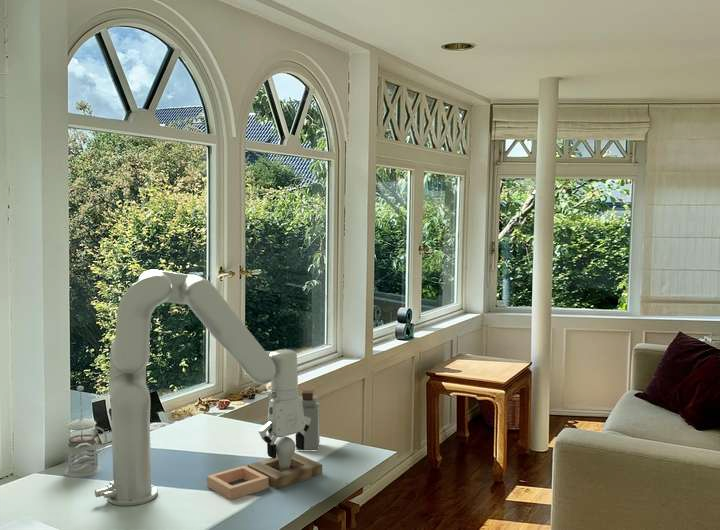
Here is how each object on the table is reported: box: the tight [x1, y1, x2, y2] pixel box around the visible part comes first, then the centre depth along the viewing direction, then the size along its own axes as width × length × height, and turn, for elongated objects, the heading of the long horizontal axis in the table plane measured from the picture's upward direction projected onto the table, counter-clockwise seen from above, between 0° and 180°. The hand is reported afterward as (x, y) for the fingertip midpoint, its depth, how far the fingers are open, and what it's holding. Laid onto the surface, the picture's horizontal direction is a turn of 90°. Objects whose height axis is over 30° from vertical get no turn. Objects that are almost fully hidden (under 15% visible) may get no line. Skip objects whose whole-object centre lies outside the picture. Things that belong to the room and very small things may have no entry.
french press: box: [64, 385, 108, 478], centre depth 208 cm, size 10×12×25 cm
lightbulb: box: [274, 436, 296, 472], centre depth 205 cm, size 6×6×11 cm
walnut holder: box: [246, 451, 323, 490], centre depth 206 cm, size 16×14×3 cm
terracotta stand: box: [206, 464, 270, 501], centre depth 197 cm, size 12×12×3 cm
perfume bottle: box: [295, 389, 321, 451], centre depth 228 cm, size 7×7×18 cm
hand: (286, 452), depth 205 cm, fingers open, 9 cm apart
